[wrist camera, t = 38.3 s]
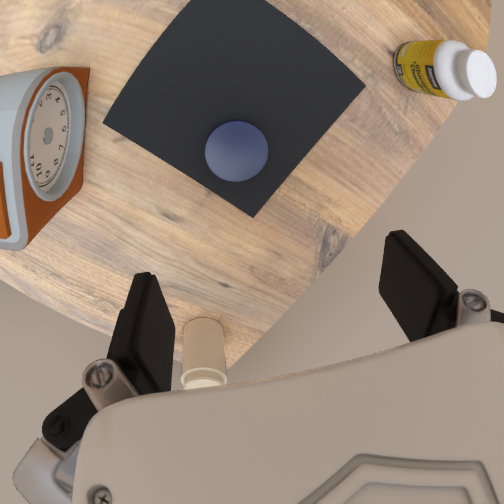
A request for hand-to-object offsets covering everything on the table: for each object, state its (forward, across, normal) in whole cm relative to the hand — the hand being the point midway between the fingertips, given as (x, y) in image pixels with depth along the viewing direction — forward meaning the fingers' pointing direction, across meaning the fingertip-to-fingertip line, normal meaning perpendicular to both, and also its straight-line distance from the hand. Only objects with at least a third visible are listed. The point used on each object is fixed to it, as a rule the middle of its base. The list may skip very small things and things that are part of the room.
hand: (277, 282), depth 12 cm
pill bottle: (+22, -22, -9) cm, 33 cm away
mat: (+22, -1, -6) cm, 23 cm away
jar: (+22, +9, +25) cm, 35 cm away
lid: (+21, 0, 0) cm, 21 cm away
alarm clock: (+22, +20, -7) cm, 31 cm away
